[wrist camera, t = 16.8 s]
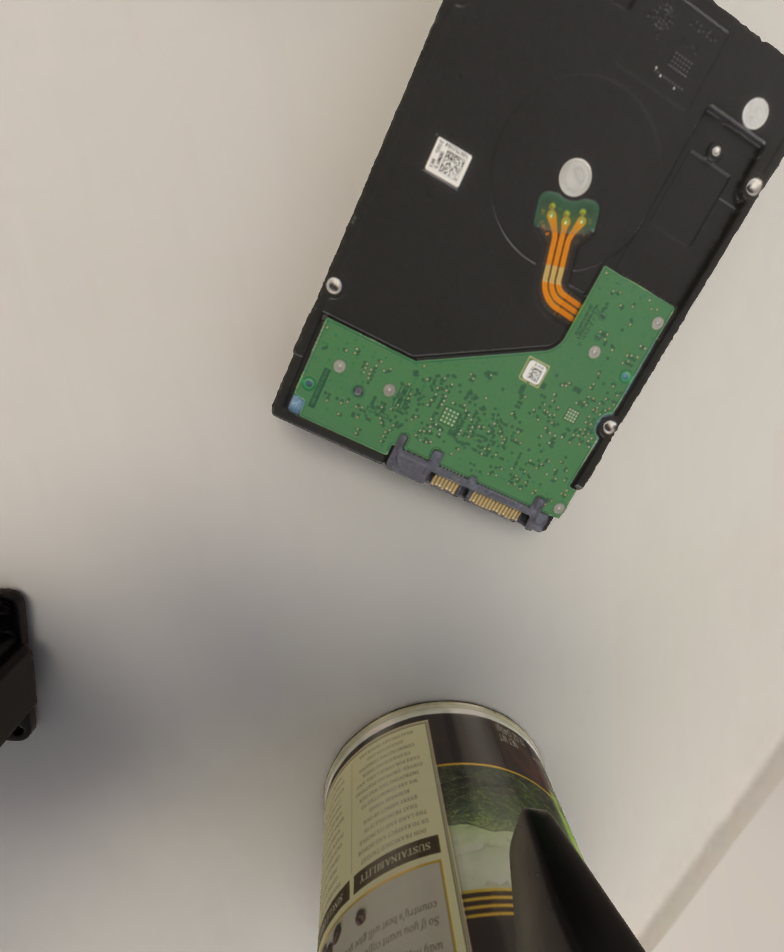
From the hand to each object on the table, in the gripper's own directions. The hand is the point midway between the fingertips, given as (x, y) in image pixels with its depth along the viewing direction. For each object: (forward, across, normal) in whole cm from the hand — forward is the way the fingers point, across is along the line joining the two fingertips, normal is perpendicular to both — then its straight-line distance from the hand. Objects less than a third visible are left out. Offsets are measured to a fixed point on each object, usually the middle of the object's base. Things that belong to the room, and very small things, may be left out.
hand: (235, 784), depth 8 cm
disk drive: (+13, -4, -9) cm, 16 cm away
